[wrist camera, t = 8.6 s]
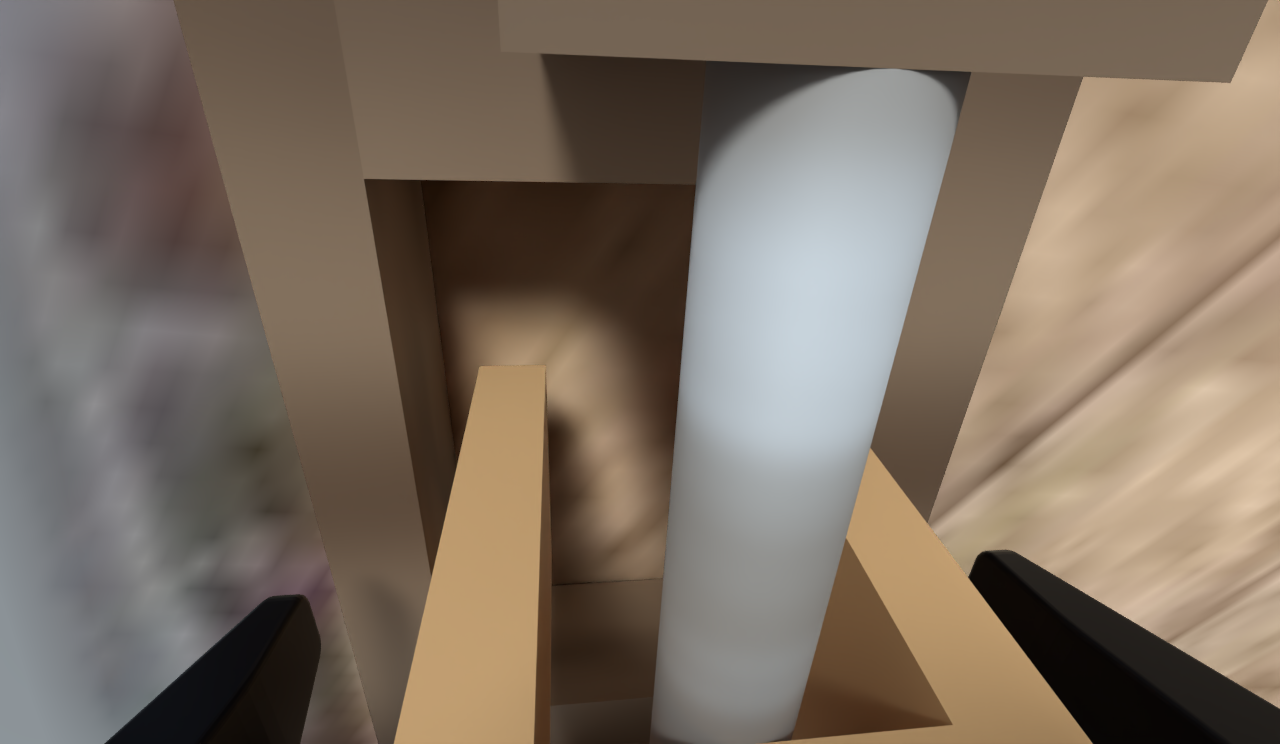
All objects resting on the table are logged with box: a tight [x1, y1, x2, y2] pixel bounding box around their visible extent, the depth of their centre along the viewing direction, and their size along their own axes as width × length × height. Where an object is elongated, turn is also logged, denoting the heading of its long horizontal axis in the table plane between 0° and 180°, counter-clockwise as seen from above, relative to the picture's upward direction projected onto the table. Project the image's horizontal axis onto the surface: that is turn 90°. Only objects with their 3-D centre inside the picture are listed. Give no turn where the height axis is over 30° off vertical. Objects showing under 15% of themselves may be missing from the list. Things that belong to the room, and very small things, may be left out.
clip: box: [394, 365, 1093, 744], centre depth 7 cm, size 4×5×8 cm
